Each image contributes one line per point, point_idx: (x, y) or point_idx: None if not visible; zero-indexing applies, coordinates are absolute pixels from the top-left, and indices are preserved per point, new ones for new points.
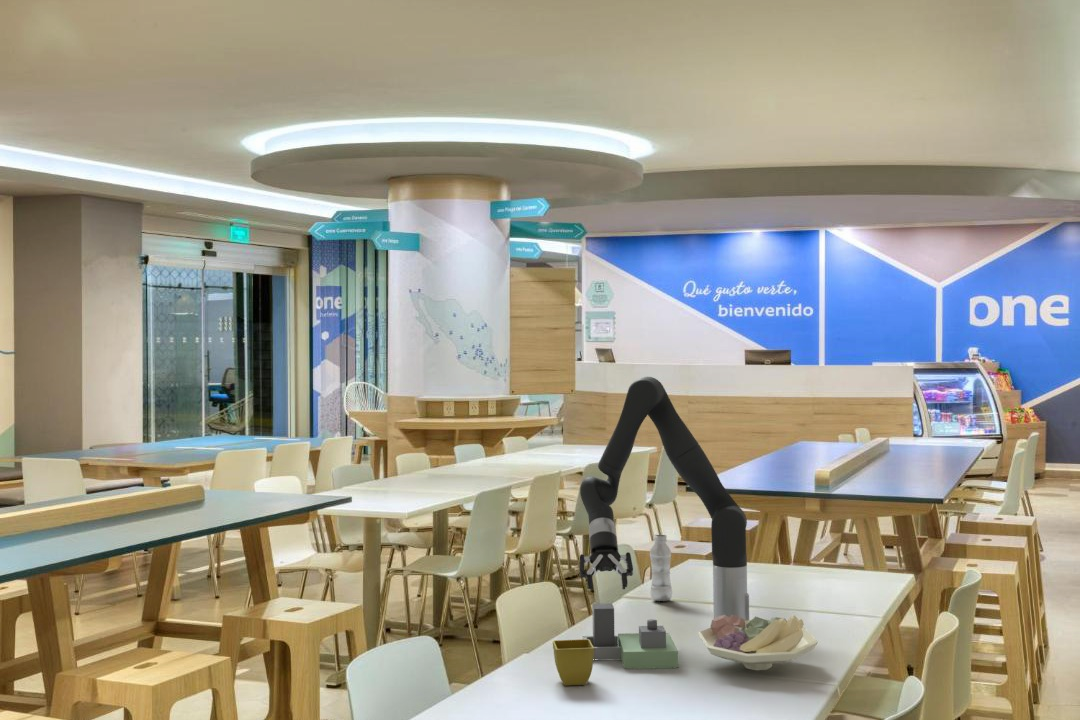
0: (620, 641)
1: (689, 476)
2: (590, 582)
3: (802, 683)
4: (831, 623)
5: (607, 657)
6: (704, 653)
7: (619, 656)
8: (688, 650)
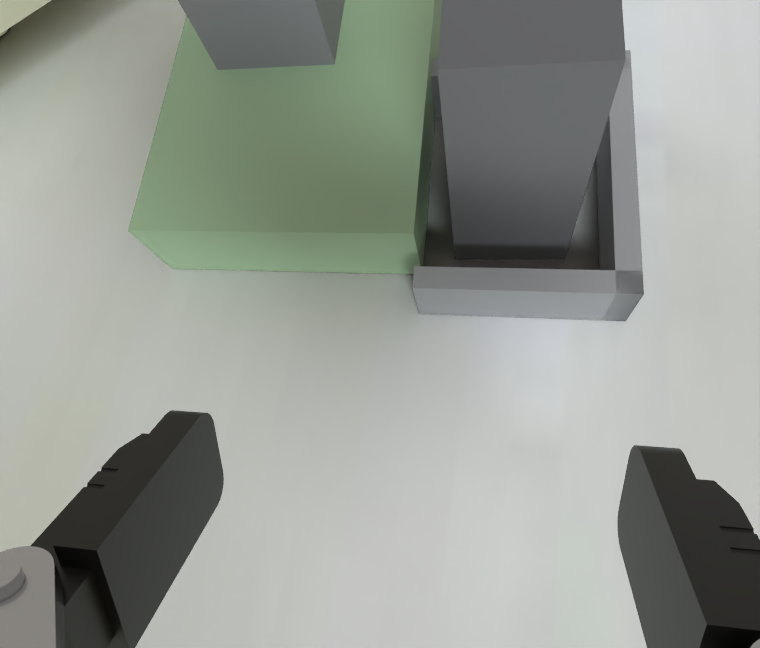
0: (427, 80)
1: None
2: (695, 486)
3: None
4: None
5: None
6: (61, 182)
7: None
8: (102, 231)
